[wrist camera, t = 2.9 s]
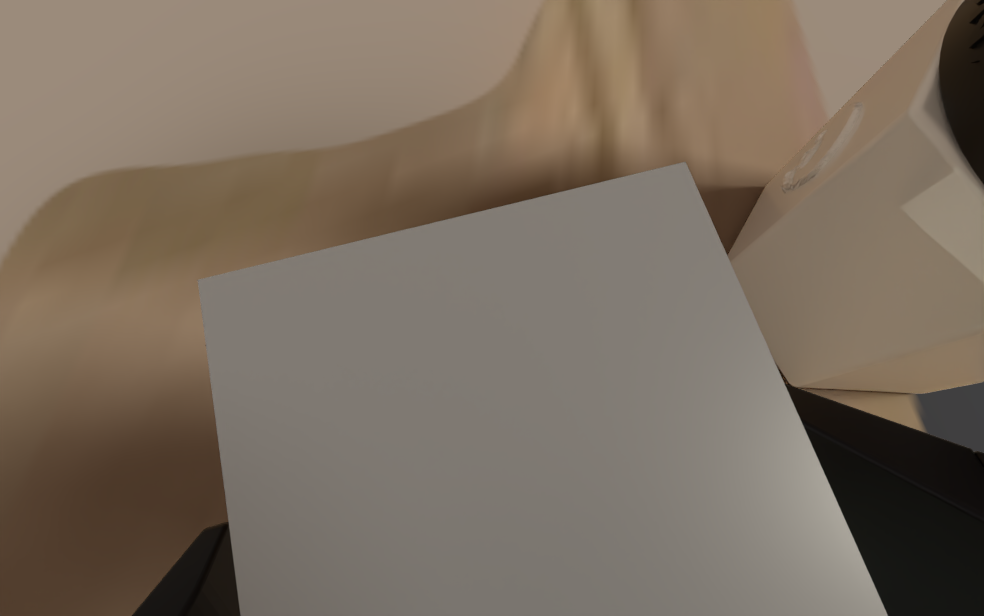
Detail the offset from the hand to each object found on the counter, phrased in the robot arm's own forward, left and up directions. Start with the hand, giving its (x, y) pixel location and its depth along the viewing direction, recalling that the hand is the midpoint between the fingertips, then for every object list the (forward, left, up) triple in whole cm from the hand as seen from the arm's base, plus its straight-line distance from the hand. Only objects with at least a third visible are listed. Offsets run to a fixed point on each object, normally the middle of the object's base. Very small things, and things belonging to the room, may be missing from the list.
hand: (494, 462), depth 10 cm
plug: (0, 0, -8) cm, 8 cm away
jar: (+3, -14, -8) cm, 17 cm away
